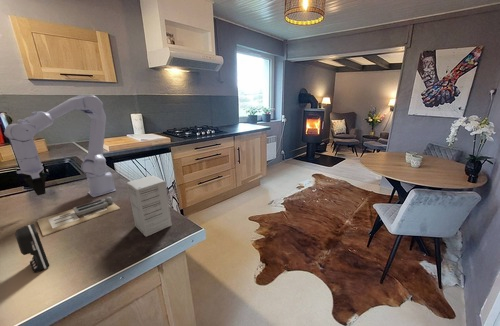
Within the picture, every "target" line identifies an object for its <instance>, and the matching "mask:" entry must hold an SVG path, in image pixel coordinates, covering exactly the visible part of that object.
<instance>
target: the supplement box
mask: <svg viewBox="0 0 500 326" xmlns="http://www.w3.org/2000/svg"><path fill="white" fill-rule="evenodd" d="M126 188H127V192H128V196H129V199H130V201H129V202H130V205H131V209H132V216H133V221H134V226H135V227H136V229H138V231H140V232H141V234H142V235H144V237H145V238H147V237H149V236H151V235H153V234H155V233H158V232H160V231H162V230H164V229H166V228H169V227H172V225H173V223H172V216H171V210H170V203H169V196H168V189H167V183H166V180H163V179H162V178H160V177H158V176H156V175H154V174H153V175H148V176H144V177H142V178H137V179H134V180H130V181H128V182H126Z"/></svg>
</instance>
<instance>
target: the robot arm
mask: <svg viewBox="0 0 500 326" xmlns="http://www.w3.org/2000/svg"><path fill="white" fill-rule="evenodd" d="M103 106H104V103H103V101H102V100H101V99H100V98H99V97H98V96H96V95H94V94H88V95H87V94H86V95H85V94H84V95H82V94H80V95H79V94H78V95H76V96H73V97H71V98H68V99H66V100H65V101H63V102H61V103H60V104H58V105H56V106H54V107H53V108H51V109H49V110H48V111H46V112H45V111H41V110H39V111H32V112H31V113H30V114H31V115H29V116H26V117H25V118H23V119H20V118H19V119H18V120H16V122H17V123H10V124H8V125H6V126H5V128H4V132H3V134H4V137H6V138H8V139H9V140H10V143H11V145H12V146H11V147H12V150H13V152H14V155H15V157H16V160H17V164H18V165H19V169H20V170H16V171H15V172H16V174H18V175H19V174H20V175H21V174H22V176H24V181H25V182H26V183H27V184H28V185H30V187H31V188H32V190H33V191H34V193H35V194H36V195H37V196H42V195H45V194H46V181H47V177H48V176H47V174H44V175H43V172H44V166H43V163H42V161H41V158H40V154H39V152H38V149H37V145H36V143H35V141H34V137H35V135H36V134H38V133H40V132H42V131H44V130H45V129H47V128H48V127H50V126H53V125H54V121H55V120H56V119H57V118H60V117H61V116H64V115H65V114H68V113H70V112H72V111H76V110H79V111H81V112H82V113H85V115H87V116H88V117H89V118H90V127H89V130H90V131H89V138H88V149H87V153H86V155H85V156H84V160H83V161H82V163H81V167H80V169H81V170H82V171H83V173H85V175H86V179H87V180H86V181H87V183H88V187H89V191H87V193H88V195H90V196H91V197H92V198H96V197H99V196H102V195H106V194H109V193H112V192H116V191H117V189H116V185H115V183H114V177H113V174H112V172H110V171H108V166H107V163H106V162H107V160H106V158H105V157H104V144H105V134H106V124H107V114H106V112H105V109H104V107H103Z"/></svg>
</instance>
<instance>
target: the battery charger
mask: <svg viewBox="0 0 500 326" xmlns="http://www.w3.org/2000/svg"><path fill="white" fill-rule="evenodd" d="M15 239H16V242H17V244H18V248H19V250H20V253H21V254H22V255H23V256H25V255H26V256H27V255H30V256H32V259H31V260H30V261H29V264H30V267H31V269H32V272H33V273H38V272H41V271H43V270H46V269H47V268H49V267H50V263H49V261H48V258H47V256H46V253H45V249H44V246H43V244H42V241H41V238H40V235H39V233H38V231H37V228H36V227H35V224H33V223H31V224H28V225H26V226H22V227H20V228H18V229H16V230H15Z"/></svg>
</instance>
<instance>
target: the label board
mask: <svg viewBox="0 0 500 326" xmlns="http://www.w3.org/2000/svg"><path fill="white" fill-rule="evenodd" d="M103 199H104V200H105V198H103ZM120 209H121V207H120V206H118V205H117V204H116V203H115V202H114V201H113V203H111V204H108V206H106V207H103V208H100V209H97V210H94V211H91V212H88V213H85V214H82V215H79V216H78V215H77V214H76V213H75V211H74V209H73V208H72V209H69V210H64V211H61V212H59V213H56V214H55V213H54V214H52V215H49V216H45V217H43V218H40V219H37V220H36V221H37V224H38V226H39V229H40V231H41V234H42V236H43V237H46V236H49V235H51V234H54V233H57V232H60V231H62V230H66V229H68V228H71V227H74V226H76V225H80V224H82V223H85V222H89V221H90V220H93V219H96V218H99V217H101V216H105V215H107V214H110V213H112V212H115V211H117V210H120Z"/></svg>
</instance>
